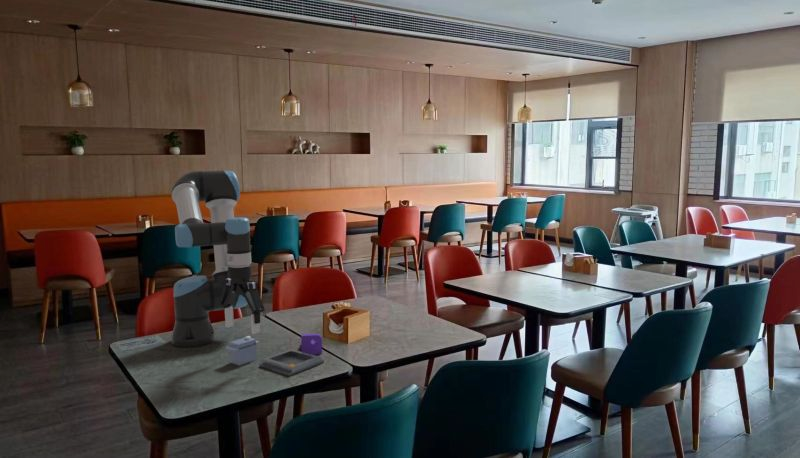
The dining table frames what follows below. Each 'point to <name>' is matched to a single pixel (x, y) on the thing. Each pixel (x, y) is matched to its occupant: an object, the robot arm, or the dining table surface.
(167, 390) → the dining table surface
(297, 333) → the dining table surface
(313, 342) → the purple block
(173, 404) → the dining table surface
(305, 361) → the tray
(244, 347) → the servo
